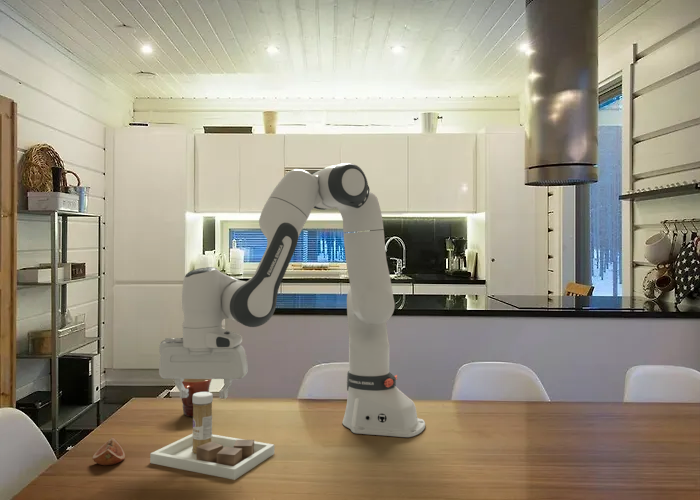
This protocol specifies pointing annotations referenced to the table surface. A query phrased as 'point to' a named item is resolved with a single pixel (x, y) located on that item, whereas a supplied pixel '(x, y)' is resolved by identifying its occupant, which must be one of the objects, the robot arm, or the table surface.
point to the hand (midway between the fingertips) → (203, 397)
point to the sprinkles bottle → (202, 418)
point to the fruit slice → (109, 453)
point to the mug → (193, 387)
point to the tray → (185, 459)
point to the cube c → (245, 447)
